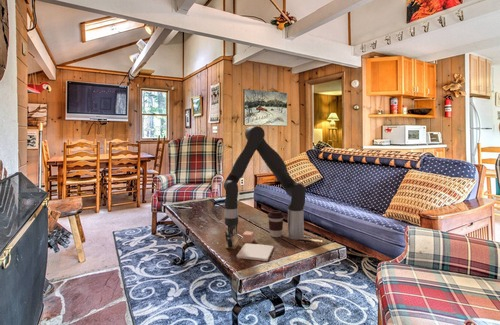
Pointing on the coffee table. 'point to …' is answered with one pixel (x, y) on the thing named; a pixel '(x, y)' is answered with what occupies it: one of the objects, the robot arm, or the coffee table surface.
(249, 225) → the coffee table surface
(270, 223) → the coffee cup
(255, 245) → the base plate
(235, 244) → the maple block
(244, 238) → the terracotta block
